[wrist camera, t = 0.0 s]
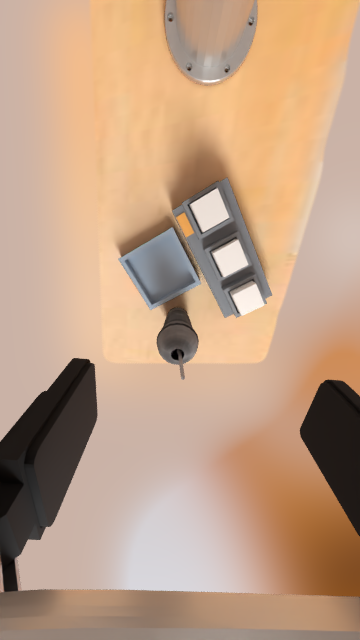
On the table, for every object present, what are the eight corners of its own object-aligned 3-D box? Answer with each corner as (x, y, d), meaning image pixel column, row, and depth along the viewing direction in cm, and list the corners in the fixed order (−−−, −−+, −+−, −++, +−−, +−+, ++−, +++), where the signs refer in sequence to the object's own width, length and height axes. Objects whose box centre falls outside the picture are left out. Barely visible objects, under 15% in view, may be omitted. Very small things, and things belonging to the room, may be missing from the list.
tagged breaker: (189, 205, 34) (190, 204, 32) (214, 190, 33) (217, 187, 31) (201, 231, 36) (203, 232, 34) (226, 218, 35) (229, 217, 33)
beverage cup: (180, 294, 46) (181, 339, 27) (200, 319, 48) (214, 375, 30) (154, 314, 48) (139, 369, 29) (175, 337, 50) (174, 401, 32)
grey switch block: (172, 211, 40) (171, 208, 32) (222, 181, 38) (232, 170, 30) (221, 311, 47) (229, 326, 40) (264, 290, 46) (281, 302, 38)
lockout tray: (120, 257, 43) (117, 259, 40) (172, 227, 41) (172, 227, 38) (151, 306, 47) (149, 310, 45) (199, 280, 45) (201, 283, 42)
